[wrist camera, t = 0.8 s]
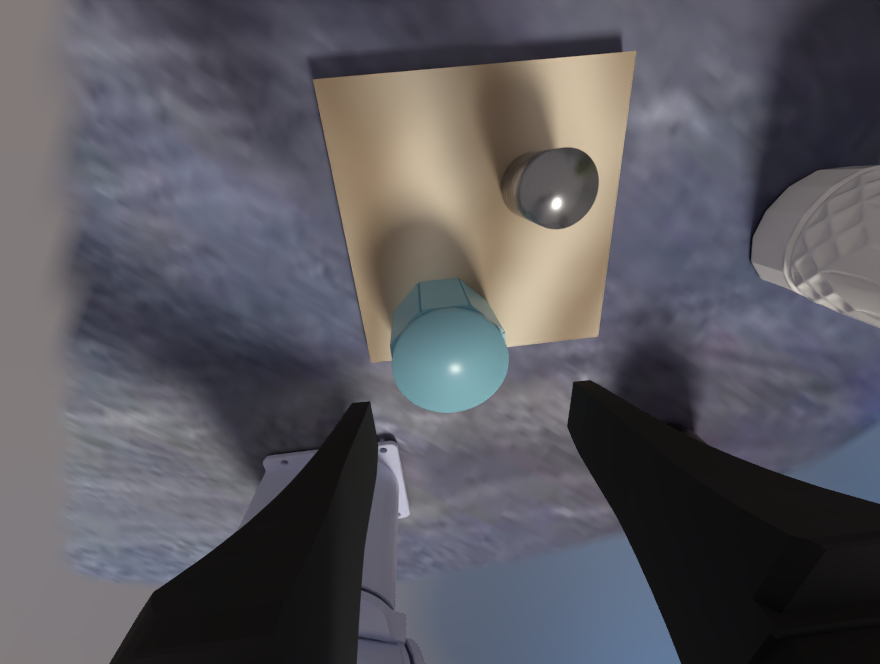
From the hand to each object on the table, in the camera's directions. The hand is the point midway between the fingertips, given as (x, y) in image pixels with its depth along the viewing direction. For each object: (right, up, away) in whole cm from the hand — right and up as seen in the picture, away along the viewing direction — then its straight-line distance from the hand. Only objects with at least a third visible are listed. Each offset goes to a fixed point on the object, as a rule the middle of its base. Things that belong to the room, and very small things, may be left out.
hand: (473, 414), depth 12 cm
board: (+1, +9, +6) cm, 11 cm away
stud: (+3, +10, +5) cm, 12 cm away
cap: (-1, +3, +8) cm, 9 cm away
